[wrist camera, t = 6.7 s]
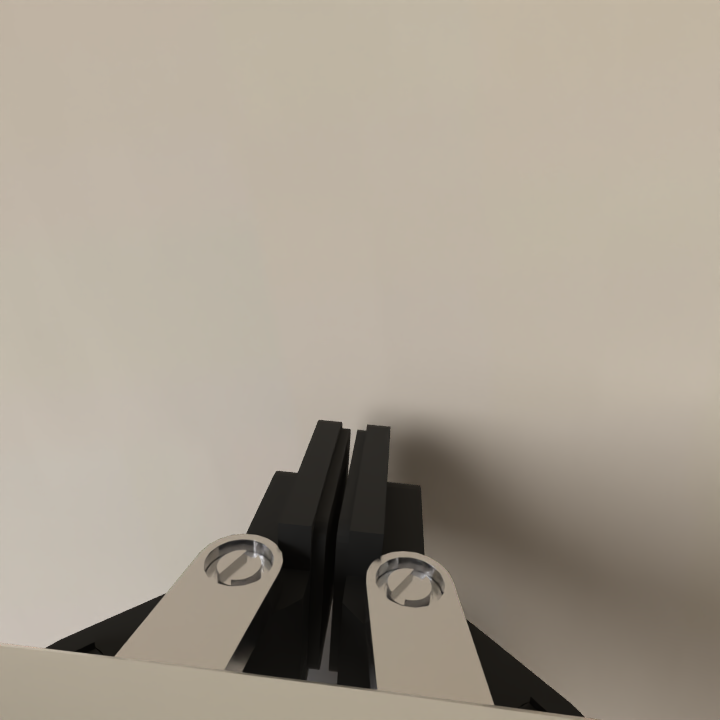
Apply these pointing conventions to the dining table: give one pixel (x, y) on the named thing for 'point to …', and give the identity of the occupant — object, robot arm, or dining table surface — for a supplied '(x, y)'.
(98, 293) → the dining table surface
